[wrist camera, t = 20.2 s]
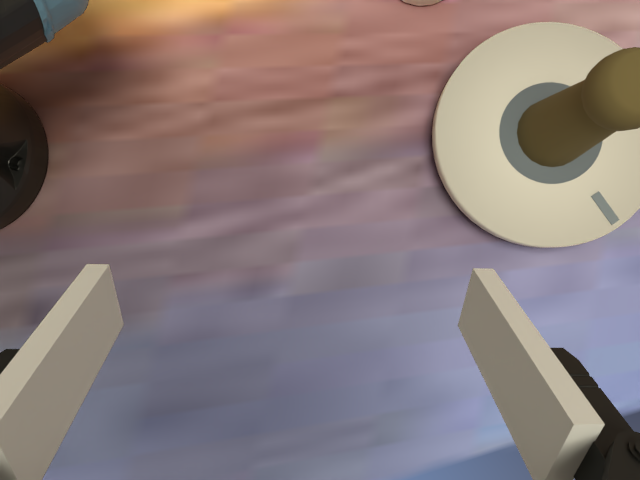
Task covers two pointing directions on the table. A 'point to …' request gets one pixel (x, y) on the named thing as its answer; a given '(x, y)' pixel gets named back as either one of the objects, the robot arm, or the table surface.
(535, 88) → the turntable
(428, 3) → the bottle
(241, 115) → the table surface
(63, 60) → the table surface
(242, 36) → the table surface
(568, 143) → the cork
